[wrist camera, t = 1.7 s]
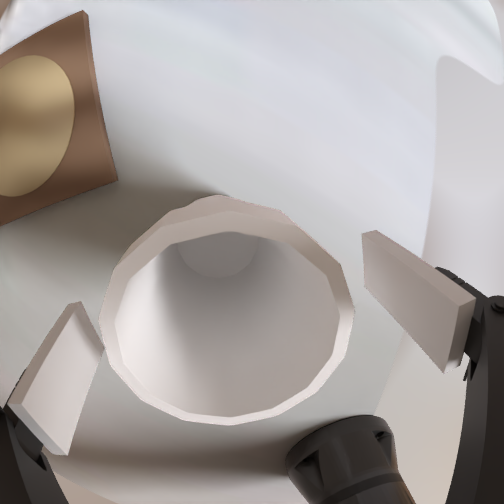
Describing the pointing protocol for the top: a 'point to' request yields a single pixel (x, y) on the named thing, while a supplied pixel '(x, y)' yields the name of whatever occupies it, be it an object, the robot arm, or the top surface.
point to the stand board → (51, 120)
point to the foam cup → (226, 313)
